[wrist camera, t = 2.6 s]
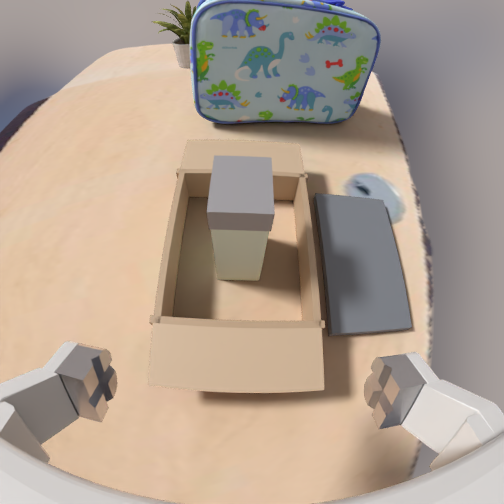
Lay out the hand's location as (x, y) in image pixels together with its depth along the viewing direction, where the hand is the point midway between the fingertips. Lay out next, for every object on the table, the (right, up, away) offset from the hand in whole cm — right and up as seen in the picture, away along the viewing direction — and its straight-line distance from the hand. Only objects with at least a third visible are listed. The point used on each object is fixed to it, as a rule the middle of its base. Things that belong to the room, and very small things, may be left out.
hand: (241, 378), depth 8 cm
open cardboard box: (-1, +3, +21) cm, 21 cm away
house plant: (-13, +46, +43) cm, 64 cm away
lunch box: (+4, +27, +34) cm, 43 cm away
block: (-1, +3, +21) cm, 21 cm away
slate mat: (+12, +3, +21) cm, 24 cm away
